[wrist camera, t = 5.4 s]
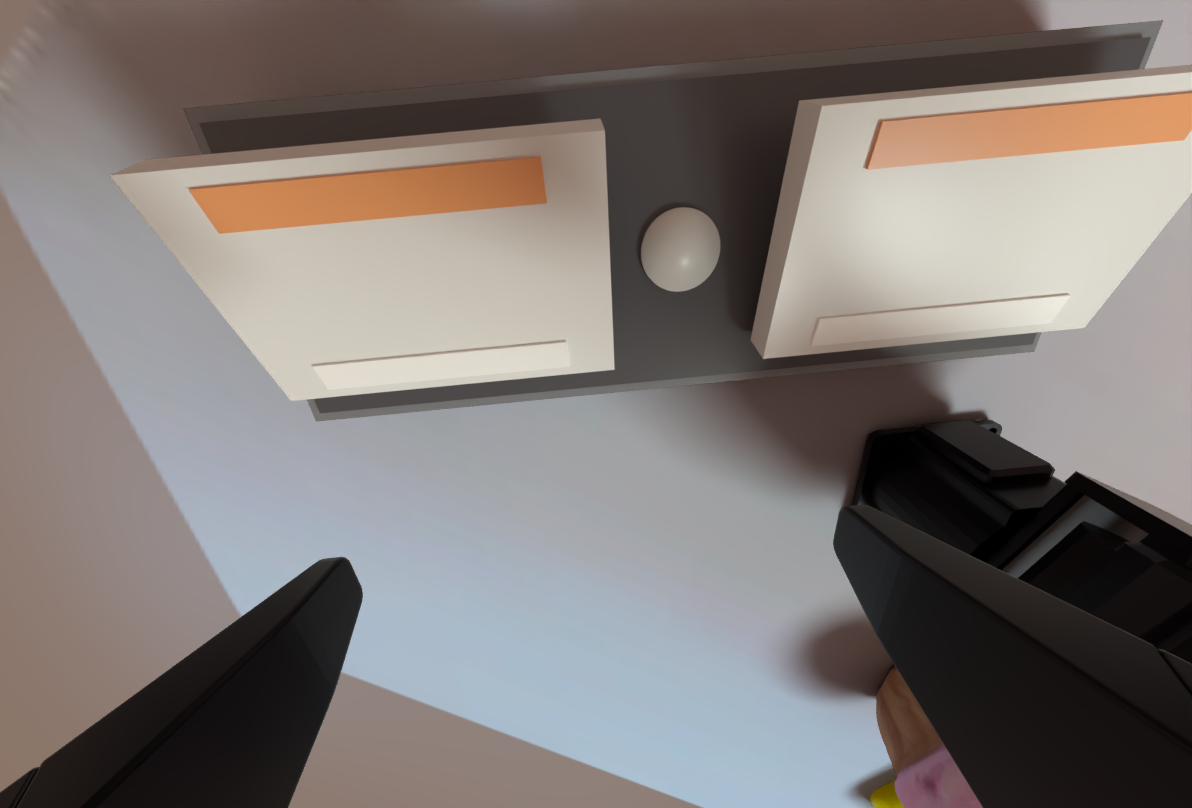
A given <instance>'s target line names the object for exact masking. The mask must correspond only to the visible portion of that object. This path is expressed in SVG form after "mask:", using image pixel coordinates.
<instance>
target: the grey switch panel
mask: <svg viewBox="0 0 1192 808" xmlns="http://www.w3.org/2000/svg"><path fill="white" fill-rule="evenodd" d="M1162 22H1163V20H1161V21H1150V22H1139V23H1128V24H1117V25H1105V26H1094V27H1083V28H1072V29H1061V30H1050V31H1039V32H1028V33H1017V34H1006V35H994V36H983V37H972V38H961V39H950V40H939V41H928V42H917V43H906V44H894V45H883V46H872V47H861V48H850V49H839V50H828V51H817V52H806V53H795V54H783V55H772V56H761V57H750V58H739V59H728V60H717V61H706V62H695V63H683V64H672V65H661V66H650V67H639V68H628V69H617V70H606V71H595V72H584V73H572V74H561V75H550V76H539V77H528V78H517V79H506V80H495V81H484V82H472V83H461V84H450V85H439V86H428V87H417V88H406V89H395V90H384V91H373V92H361V93H350V94H339V95H328V96H317V97H306V98H295V99H284V100H273V101H261V102H250V103H239V104H228V105H217V106H206V107H195V108H184V112H185V114H186V116H187V119H188V121H189V123H190V126H191V128H192V130H193V133H194V135H195V138H196V140H197V142H198V145H199V147H200V149H201V152H202V154H203V155H205V154H216V153H227V152H238V151H249V150H259V149H270V148H281V147H292V146H303V145H314V144H325V143H336V142H347V141H358V140H369V139H380V138H391V137H402V136H413V135H424V134H435V133H446V132H457V131H468V130H479V129H490V128H501V127H512V126H523V125H534V124H545V123H556V122H567V121H578V120H589V119H600V118H601V121H602V124H603V126H604V129H605V145H606V169H607V194H608V219H609V243H610V268H611V293H612V317H613V342H614V367H615V370H606V371H596V372H586V373H575V374H565V375H555V376H544V377H534V378H524V379H513V380H503V381H493V382H482V383H472V384H462V385H451V386H441V387H431V388H420V389H410V390H400V391H389V392H379V393H369V394H358V395H348V396H337V397H327V398H317V399H307V401H308V403H309V406H310V408H311V410H312V413H313V415H314V417H315V420H316V421H325V420H336V419H346V418H356V417H367V416H377V415H387V414H397V413H408V412H418V411H428V410H439V409H449V408H459V407H470V406H480V405H490V404H500V403H511V402H521V401H531V400H542V399H552V398H562V397H572V396H583V395H593V394H603V393H614V392H624V391H634V390H644V389H655V388H665V387H675V386H686V385H696V384H706V383H717V382H727V381H737V380H747V379H758V378H768V377H778V376H789V375H799V374H809V373H819V372H830V371H840V370H850V369H861V368H871V367H881V366H891V365H902V364H912V363H922V362H933V361H943V360H953V359H963V358H974V357H984V356H994V355H1005V354H1015V353H1025V352H1034V350H1035V348H1036V345H1037V343H1038V340H1039V337H1040V335H1041V332H1036V333H1026V334H1015V335H1005V336H995V337H984V338H974V339H964V340H953V341H943V342H933V343H922V344H912V345H902V346H891V347H881V348H871V349H860V350H850V351H840V352H829V353H819V354H809V355H798V356H788V357H778V358H767V359H763V358H762V357H761V355H760V354H759V352H758V351H757V349H756V348H755V346H754V344H753V343H752V341H751V335H752V330H753V325H754V320H755V315H756V310H757V305H758V301H759V296H760V291H761V286H762V281H763V276H764V271H765V266H766V261H767V256H768V251H769V246H770V241H771V236H772V232H773V227H774V222H775V217H776V212H777V207H778V202H779V197H780V192H781V187H782V182H783V177H784V172H785V167H786V163H787V158H788V153H789V148H790V143H791V138H792V133H793V128H794V123H795V118H796V113H797V108H798V103H799V101H800V100H811V99H822V98H833V97H844V96H855V95H866V94H877V93H888V92H899V91H909V90H920V89H931V88H942V87H953V86H964V85H975V84H986V83H997V82H1008V81H1019V80H1030V79H1041V78H1052V77H1063V76H1074V75H1085V74H1096V73H1107V72H1118V71H1129V70H1140V69H1144V68H1145V66H1146V63H1147V61H1148V58H1149V56H1150V53H1151V50H1152V48H1153V45H1154V43H1155V40H1156V38H1157V35H1158V33H1159V30H1160V27H1161V25H1162Z"/></svg>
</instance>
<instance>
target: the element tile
mask: <svg viewBox="0 0 1192 808" xmlns="http://www.w3.org/2000/svg"><path fill="white" fill-rule="evenodd" d="M894 783H895V781H892V782H890V783H888V784H886V785H884V786H882V787H880V788H879V789H877V790H875V791H874V792H873V793H872V794H871V796H870V801H871V803H872V805H873V807H874V808H904V807H903V805H902V804H901V802H900V800H899V798H898V796H897V794H896V791H895V785H894Z"/></svg>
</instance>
